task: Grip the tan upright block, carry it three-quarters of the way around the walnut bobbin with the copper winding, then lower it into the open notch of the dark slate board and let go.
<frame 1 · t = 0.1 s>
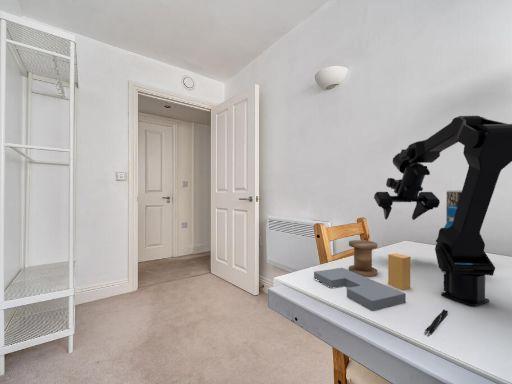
hand: (399, 218, 87), 15 cm above the table, tool tilted 35°, fingers open, 9 cm apart
black twisted rod: (436, 325, 46), on the table
beverage bottle: (461, 275, 73), on the table
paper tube: (458, 263, 85), on the table
board: (354, 289, 62), on the table
tan upright block: (399, 286, 64), on the table
bobbin: (362, 272, 75), on the table
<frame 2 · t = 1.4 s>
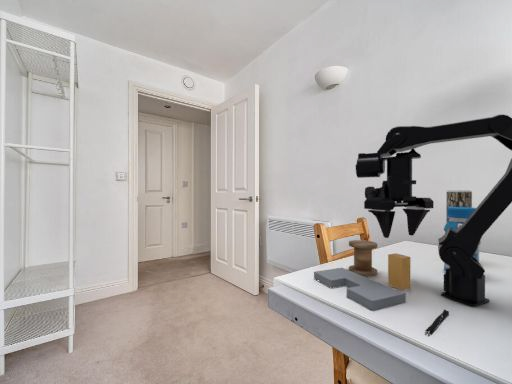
hand: (399, 236, 64), 13 cm above the table, tool pointing down, fingers open, 9 cm apart
nothing on the table moved.
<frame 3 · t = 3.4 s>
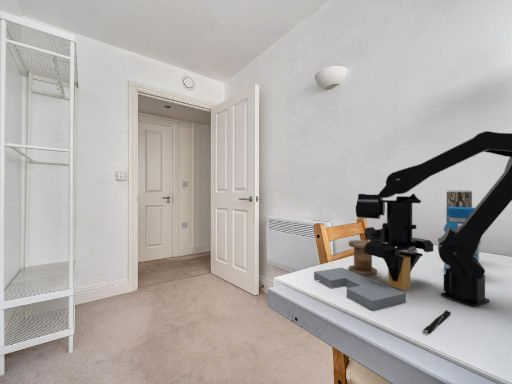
hand: (399, 280, 64), 2 cm above the table, tool pointing down, fingers closed on tan upright block, 3 cm apart
tan upright block: (399, 286, 64), on the table, touching gripper
everything else where it was.
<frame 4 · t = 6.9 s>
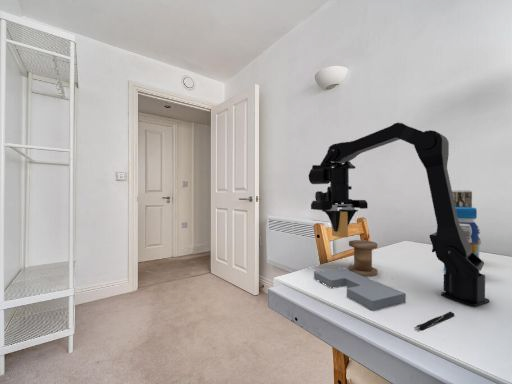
hand: (339, 231, 80), 12 cm above the table, tool pointing down, fingers closed on tan upright block, 3 cm apart
tan upright block: (339, 236, 80), point 10 cm above the table, touching gripper
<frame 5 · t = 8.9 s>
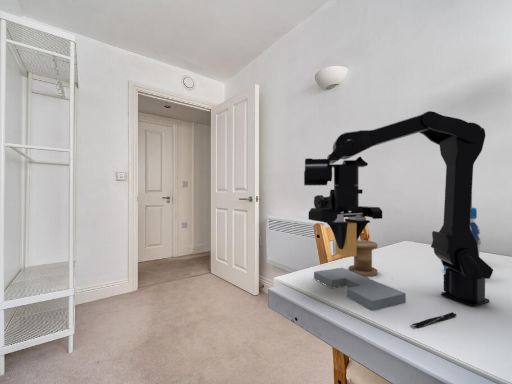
hand: (346, 248, 61), 11 cm above the table, tool pointing down, fingers closed on tan upright block, 3 cm apart
tan upright block: (345, 254, 61), point 9 cm above the table, touching gripper
when the fingers open (3 cm above the table, at t = 10.7 s): tan upright block drops 2 cm, on the table.
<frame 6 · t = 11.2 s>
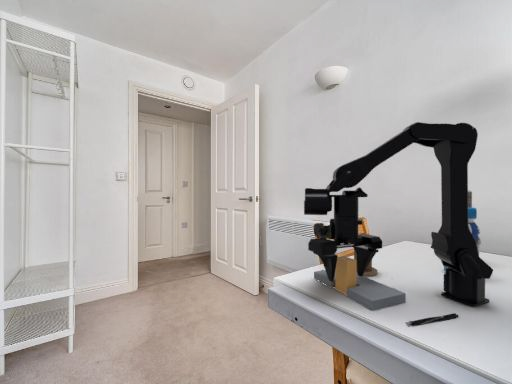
hand: (345, 278, 61), 3 cm above the table, tool pointing down, fingers open, 9 cm apart
tan upright block: (345, 290, 61), on the table
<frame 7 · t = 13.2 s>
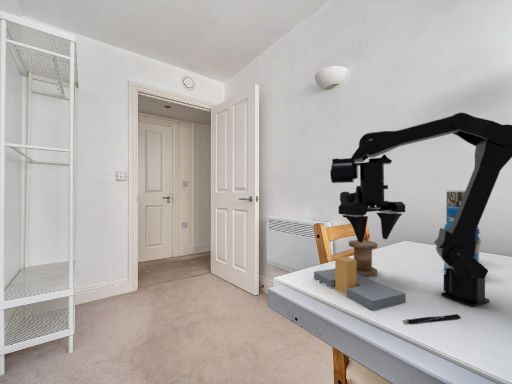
hand: (373, 240, 65), 12 cm above the table, tool pointing down, fingers open, 9 cm apart
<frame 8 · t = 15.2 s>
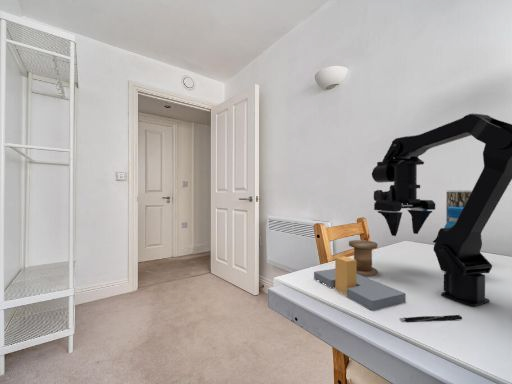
hand: (404, 234, 72), 12 cm above the table, tool pointing down, fingers open, 9 cm apart
at the end: tan upright block 0.1 cm from the target spot on the board, point 0.0 cm above the board's base; tan upright block tilted 0°; the gripper is holding nothing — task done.
